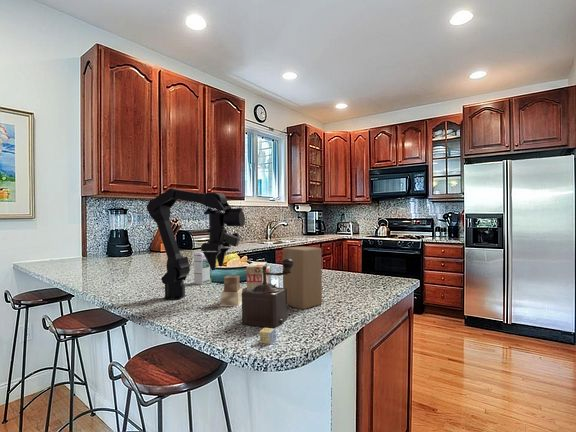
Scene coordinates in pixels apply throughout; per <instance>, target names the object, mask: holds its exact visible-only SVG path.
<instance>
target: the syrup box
mask: <svg viewBox="0 0 576 432" xmlns="http://www.w3.org/2000/svg"><path fill="white" fill-rule="evenodd" d="M203 252H204V251H201V252H194V253H193V283H194V284H195V285H201V286H203V285H205V284H211V283H212V277H211V278H210V269H211V267H210V265H209V263H208V261H207V259H206V257H205V255H204V253H203ZM211 270H212V269H211Z"/></svg>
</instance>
